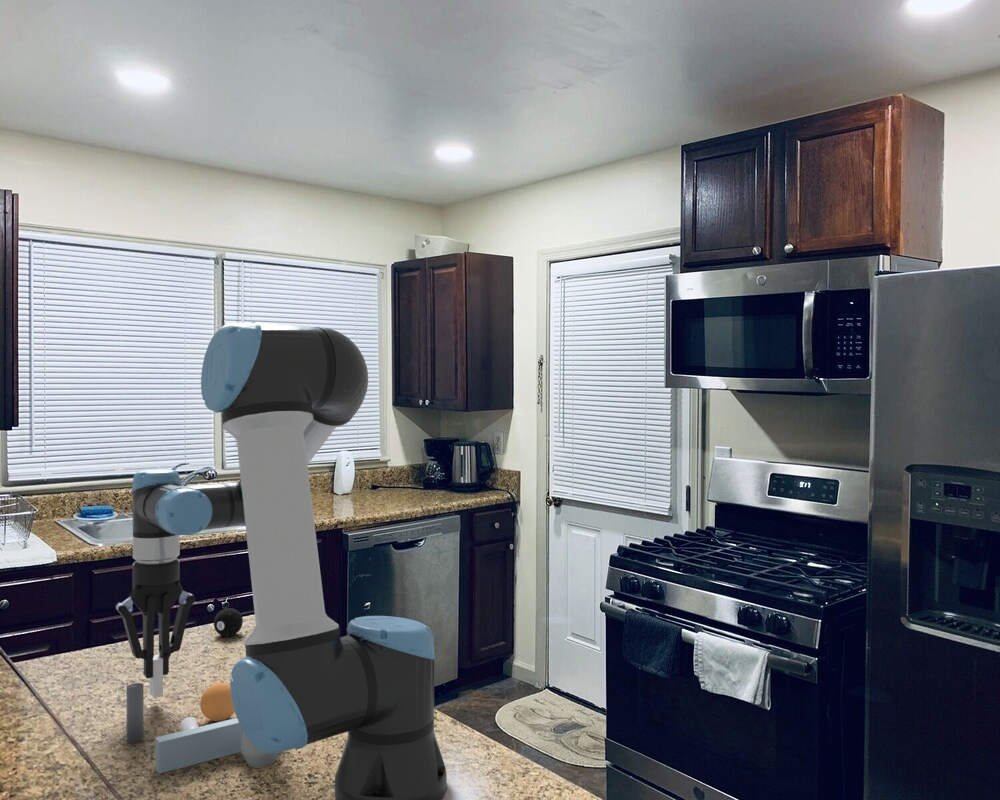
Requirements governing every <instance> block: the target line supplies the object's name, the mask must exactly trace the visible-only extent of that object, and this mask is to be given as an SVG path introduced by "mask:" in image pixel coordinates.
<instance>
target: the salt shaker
mask: <svg viewBox="0 0 1000 800" xmlns="http://www.w3.org/2000/svg"><path fill="white" fill-rule="evenodd" d="M240 753H241V755H242V757H243V758H244V760H245V762H246V763H247V765H248V767H249V768H256V769H263V768H267V767H269V766H272V765H273V764H274V763H275V761H276V759H277V757H278V755H279V753H273V754H271V753H265V752H263V751H261V750H259V749H258V748H256V747H255V746H254V745H253V744H252V743H251V742H250V741H249V739H248V738H247V736H246V734H245V733H244V732H243V738H242V743H241V752H240Z"/></svg>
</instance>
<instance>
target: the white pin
mask: <svg viewBox="0 0 1000 800" xmlns="http://www.w3.org/2000/svg"><path fill="white" fill-rule="evenodd" d="M197 727H199V725H198V722H197V720H196V718H194V717H192V716H187V717H185V718H184V719H182V721H181V723H180V729H181V731H185V730H189V729H193V728H197Z"/></svg>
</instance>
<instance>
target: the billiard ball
mask: <svg viewBox="0 0 1000 800" xmlns="http://www.w3.org/2000/svg"><path fill="white" fill-rule="evenodd" d="M243 619H244V618H243V615H242V614H241V612H240V611H239V610H237V609H236V608H232V607H231V608H229V607H228V608H224V609H222V610H220V611H218V613H217V614H216V616H215V617H214V619H213V620H214V621H213V626H214V627H213V628H214V630H215V632H216V633H217V634H218V635H220V636H223V637H231V636H234V635H236V634H237V633H240V630H241V628H242V627H243V623H244V622H243V621H244V620H243Z"/></svg>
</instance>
